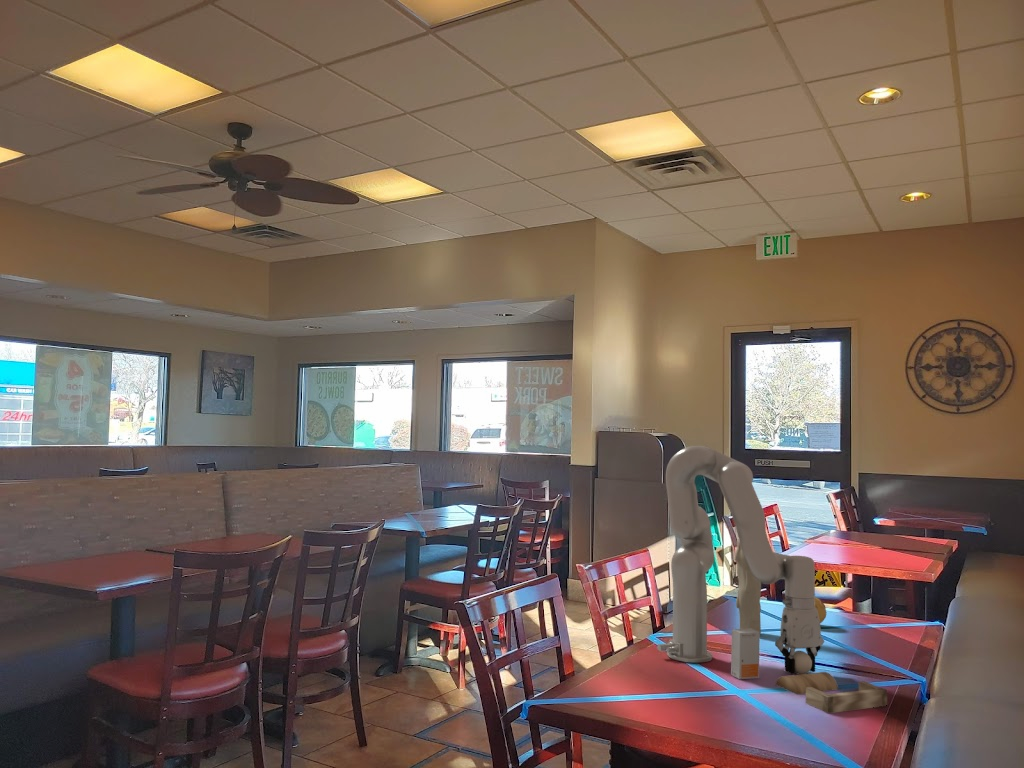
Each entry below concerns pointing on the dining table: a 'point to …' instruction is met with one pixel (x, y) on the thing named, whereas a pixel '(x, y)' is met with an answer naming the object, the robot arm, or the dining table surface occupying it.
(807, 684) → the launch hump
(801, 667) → the ball
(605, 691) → the dining table surface
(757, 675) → the skincare box
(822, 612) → the stress ball
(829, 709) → the rail
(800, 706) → the dining table surface
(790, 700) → the dining table surface
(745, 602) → the vase
